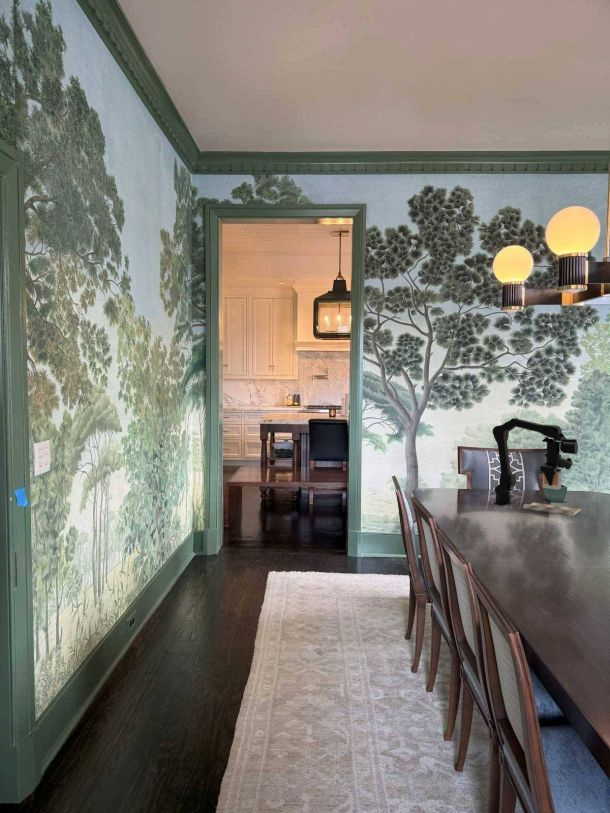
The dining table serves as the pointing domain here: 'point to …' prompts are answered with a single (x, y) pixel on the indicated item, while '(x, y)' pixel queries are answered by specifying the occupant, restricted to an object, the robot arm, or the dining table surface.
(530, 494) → the dining table surface
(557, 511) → the shelf board
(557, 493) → the flower pot
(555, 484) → the carton
